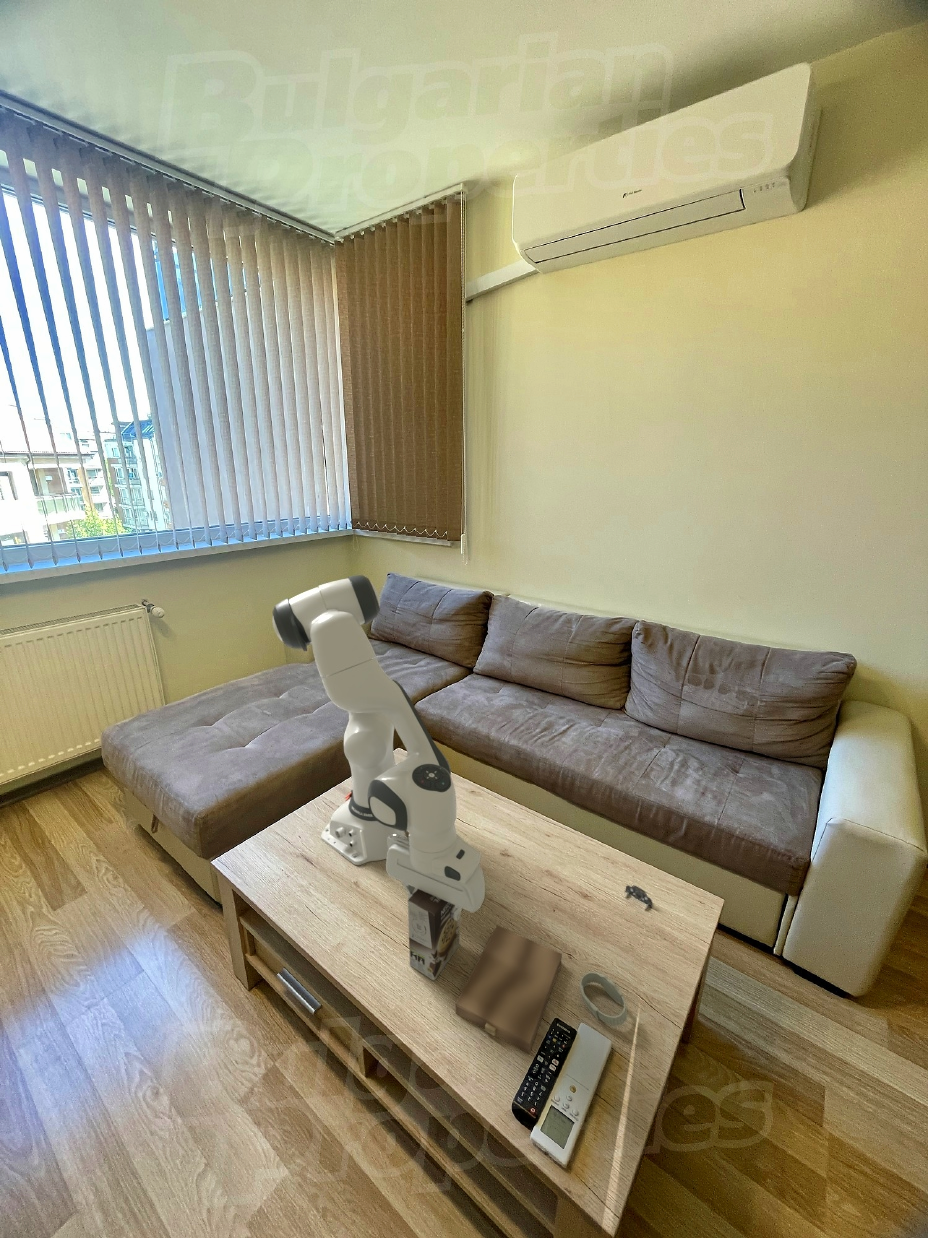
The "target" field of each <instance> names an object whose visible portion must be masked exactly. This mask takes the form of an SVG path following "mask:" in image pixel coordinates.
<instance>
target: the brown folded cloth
mask: <svg viewBox="0 0 928 1238" xmlns="http://www.w3.org/2000/svg"><path fill="white" fill-rule="evenodd" d="M562 956H563V953H561V952H559V951H557V950H554V949H551V948H550V947H547V946H545V945H543V944H540V943H538V942H536V941H534V940H532V939H529V938H528V937H526V936H523V935H521V934H518V933H516V932H514V931H511V930H509V929H507V928H505V927H502V926H501V925H498V924H497V925H496V926H495V928H494V930H493V932H492V933H491V935H490V938H489V939H488V941H487V943H486V944H485V947H484V948H483V951H482V952H481V954H480V956H479V958H478V959H477V961H476V964H475V966H474V967H473V970H472V972H471V973H470V975H469V976H468V977H469V978H468V979H467V981H466V983H465V985H464V987H463V988H462V990H461V992H460V995H459V996H458V998H457V1000H456V1002H455V1014H456V1015H458V1016H460V1017H462V1019H463V1018H464V1019H465V1020H466V1021H468V1022H470V1023H472V1024H474V1025H476V1026H478V1027H479V1028H481V1029H483V1030H484V1031H485V1032H486V1033H488V1034H490V1035H491V1036H492V1037H496V1038H499V1039H501V1040H503V1041H504V1042H506V1043H507V1044H510V1045H511V1046H513V1047H515V1048H516V1049H519V1050H520V1051H522V1052H524V1053H526V1054H528V1055H530V1054H531V1050H532V1048H533V1044H534V1042H535V1040H536V1036H537V1034H538V1030H539V1028H540V1025H541V1022H542V1019H543V1017H544V1014H545V1011H546V1008H547V1006H548V1003H549V999H550V996H551V994H552V991H553V989H554V986H555V982H556V980H557V977H558V974H559V971H560V968H561V966H562V958H563V957H562Z"/></svg>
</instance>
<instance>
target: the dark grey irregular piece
mask: <svg viewBox="0 0 928 1238" xmlns="http://www.w3.org/2000/svg"><path fill="white" fill-rule="evenodd" d="M624 892H625V893H626V895H625V899H627V897H628V896H631V897H632V896H633V897H632V898H634V899H636V900H637V899H638V900H637V901H639V902H640V901H641V902H640V903H642V902H643V903H642V904H643V905H645V904H646V905H645V908H644V910H645V909H646V910H647V908H648V906H649V908H650V909H653V908H654V907H653V900H652V899H651V897H649V896H648V895H647V891H645V890H644V889H642V888H641V887H639V886H638V885H635V884H634V885H632V886H630V885H626V887H625V890H624Z"/></svg>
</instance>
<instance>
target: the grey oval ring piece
mask: <svg viewBox="0 0 928 1238" xmlns="http://www.w3.org/2000/svg"><path fill="white" fill-rule="evenodd" d="M591 983H595V984H598V985H600V986H601V987H602V988H603V990H604V992H606V994H607V995H609V996H610V998H612V999H613V1000H614V1001H615V1003H617V1004H619V1005H621V1006H623V1009H622V1011H621V1013H619V1014H618V1015H614V1016H611V1015H608V1014H606V1013H604V1012H602V1011H601V1010H599V1008H598V1007H597V1006H596V1005H595V1004H594V1003H593V1002H592V1001H590V999H589V998H588V997H587V995H586V994H585V991H584V990H585V988H586V986H587V985H588V984H591ZM579 987H580V988H579V989H580V993H581V996H582V1000H583V1002H584V1004H585V1005H586V1007H587V1009H588V1010H589V1011H590V1012H591V1014H592V1015H593V1016H594V1018H595V1019H596V1020H601V1021H602V1022H604V1023H605V1024H607V1025H610V1026H613V1027H619V1026H621V1025H624V1023H626V1021H627V1018H628V1009H627V1005H626V1001H625V998H624V996H623V993H622V990H621V989H620V988H619V986H618V985H617V984H616V983H615V982H614V981H612V980H611V978H609V977H608V976H607V975H606V974H603V973H600V972H599V973H598V972H595V971H589V972H586V973H584V974H583V975H582V977H581V978H580V981H579Z"/></svg>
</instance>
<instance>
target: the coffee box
mask: <svg viewBox="0 0 928 1238" xmlns="http://www.w3.org/2000/svg"><path fill="white" fill-rule="evenodd" d="M453 906H454V904H451V903H449V902H447V901H445V900H442V899H440V898H438V897H435V896H433V895H431V894H429V893H426V892H424V891H422V890H419V889H417V891H416V892H415V893H414V894H413V895H412V896H411V897H410V898H409V899H407V912H408V913H407V915H408V949H409V950H408V951H409V955H408V956H409V966H410V967H412V968H414V970H417V971H418V972H419V973H421V974H423V975H424V976H425V977H427V978H429V979H430V980H432V981H436V980H437V978H438V977H439V975H440V974H441V972H442V971H443V969H444V968H445V967H446V965H447V963H448V962H449V961H450V959H451V958H452V956H453V955H454V954H455V952H456V951H457V950H458V948H459V946H460V918H459V919H458V921H456V920H454V919H452V918H450V916H451V915H450V911H451V909H453Z"/></svg>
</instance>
